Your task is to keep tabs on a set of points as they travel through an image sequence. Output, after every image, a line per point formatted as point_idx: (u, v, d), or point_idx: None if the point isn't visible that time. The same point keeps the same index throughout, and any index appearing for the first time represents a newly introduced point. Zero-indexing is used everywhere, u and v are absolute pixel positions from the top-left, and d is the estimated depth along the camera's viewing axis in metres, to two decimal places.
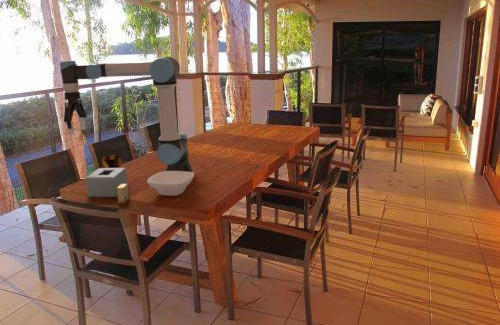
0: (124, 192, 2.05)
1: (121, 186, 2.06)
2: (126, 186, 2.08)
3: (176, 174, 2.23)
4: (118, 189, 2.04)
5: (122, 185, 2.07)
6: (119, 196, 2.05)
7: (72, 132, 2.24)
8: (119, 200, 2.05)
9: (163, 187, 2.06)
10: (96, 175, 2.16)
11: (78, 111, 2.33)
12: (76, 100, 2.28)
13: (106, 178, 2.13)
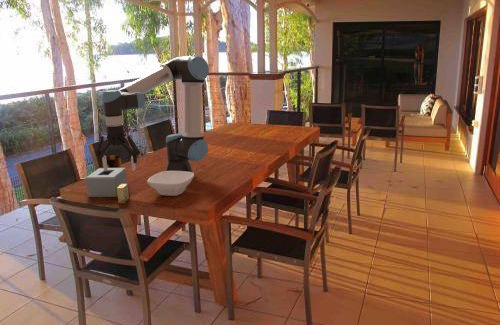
0: (124, 192, 2.05)
1: (121, 186, 2.06)
2: (126, 186, 2.08)
3: (176, 174, 2.23)
4: (118, 189, 2.04)
5: (122, 185, 2.07)
6: (119, 196, 2.05)
7: None
8: (119, 200, 2.05)
9: (163, 187, 2.06)
10: (96, 175, 2.16)
11: None
12: (118, 135, 1.99)
13: (106, 178, 2.13)
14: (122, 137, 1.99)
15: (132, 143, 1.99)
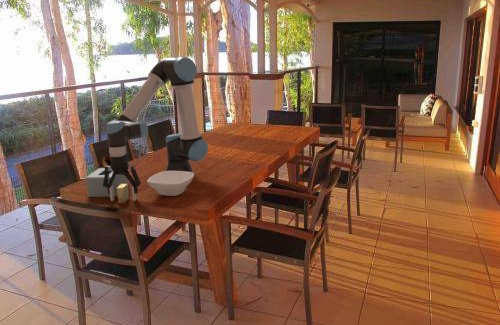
0: (124, 192, 2.05)
1: (121, 186, 2.06)
2: (126, 186, 2.08)
3: (176, 174, 2.23)
4: (118, 189, 2.04)
5: (122, 185, 2.07)
6: (119, 196, 2.05)
7: None
8: (119, 200, 2.05)
9: (163, 187, 2.06)
10: (96, 175, 2.16)
11: None
12: (122, 165, 2.03)
13: None
14: (126, 167, 2.03)
15: (134, 174, 2.03)
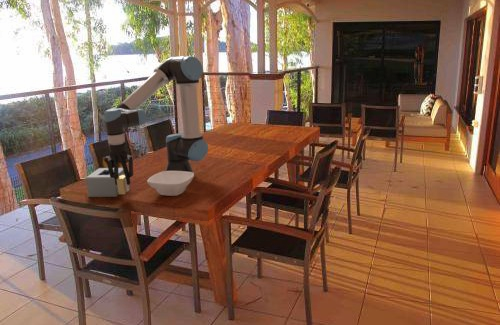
0: (124, 183, 2.04)
1: (121, 177, 2.05)
2: None
3: (176, 174, 2.23)
4: (118, 180, 2.03)
5: (122, 176, 2.06)
6: (119, 187, 2.04)
7: None
8: (119, 191, 2.05)
9: (163, 187, 2.06)
10: (96, 175, 2.16)
11: None
12: (122, 152, 2.01)
13: (106, 178, 2.13)
14: (125, 155, 2.01)
15: (131, 165, 2.02)
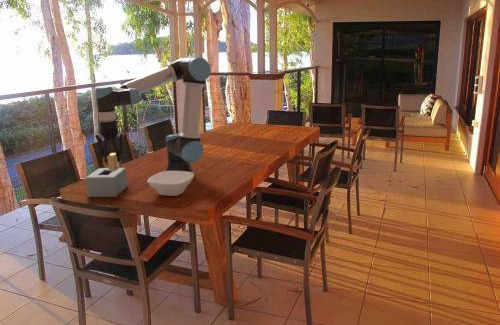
0: (114, 160, 2.07)
1: (111, 154, 2.08)
2: None
3: (176, 174, 2.23)
4: (108, 157, 2.06)
5: (112, 154, 2.10)
6: (109, 164, 2.07)
7: None
8: (110, 168, 2.08)
9: (163, 187, 2.06)
10: (96, 175, 2.16)
11: None
12: (113, 129, 2.05)
13: (106, 178, 2.13)
14: (115, 132, 2.05)
15: (121, 142, 2.06)
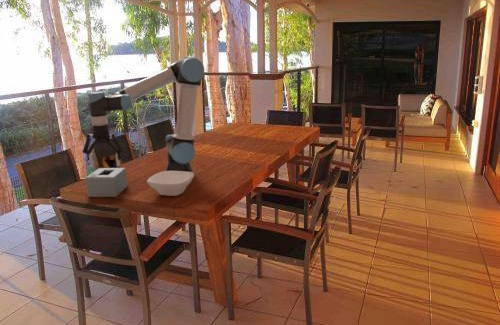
0: None
1: None
2: None
3: (176, 174, 2.23)
4: None
5: None
6: None
7: None
8: None
9: (163, 187, 2.06)
10: (96, 175, 2.16)
11: None
12: (103, 134, 2.14)
13: (106, 178, 2.13)
14: (107, 135, 2.14)
15: (116, 141, 2.14)
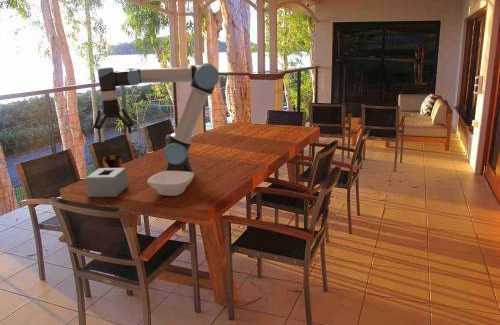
0: None
1: None
2: None
3: (176, 174, 2.23)
4: None
5: None
6: None
7: None
8: None
9: (163, 187, 2.06)
10: (96, 175, 2.16)
11: None
12: (113, 108, 2.20)
13: (106, 178, 2.13)
14: (117, 110, 2.20)
15: (126, 115, 2.20)
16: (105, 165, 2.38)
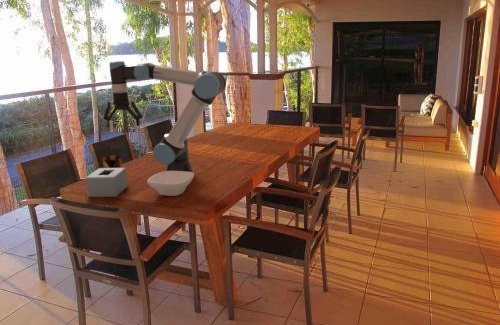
0: None
1: None
2: None
3: (176, 174, 2.23)
4: None
5: None
6: None
7: None
8: None
9: (163, 187, 2.06)
10: (96, 175, 2.16)
11: None
12: (123, 101, 2.27)
13: (106, 178, 2.13)
14: (126, 102, 2.27)
15: (135, 108, 2.28)
16: (105, 165, 2.38)
